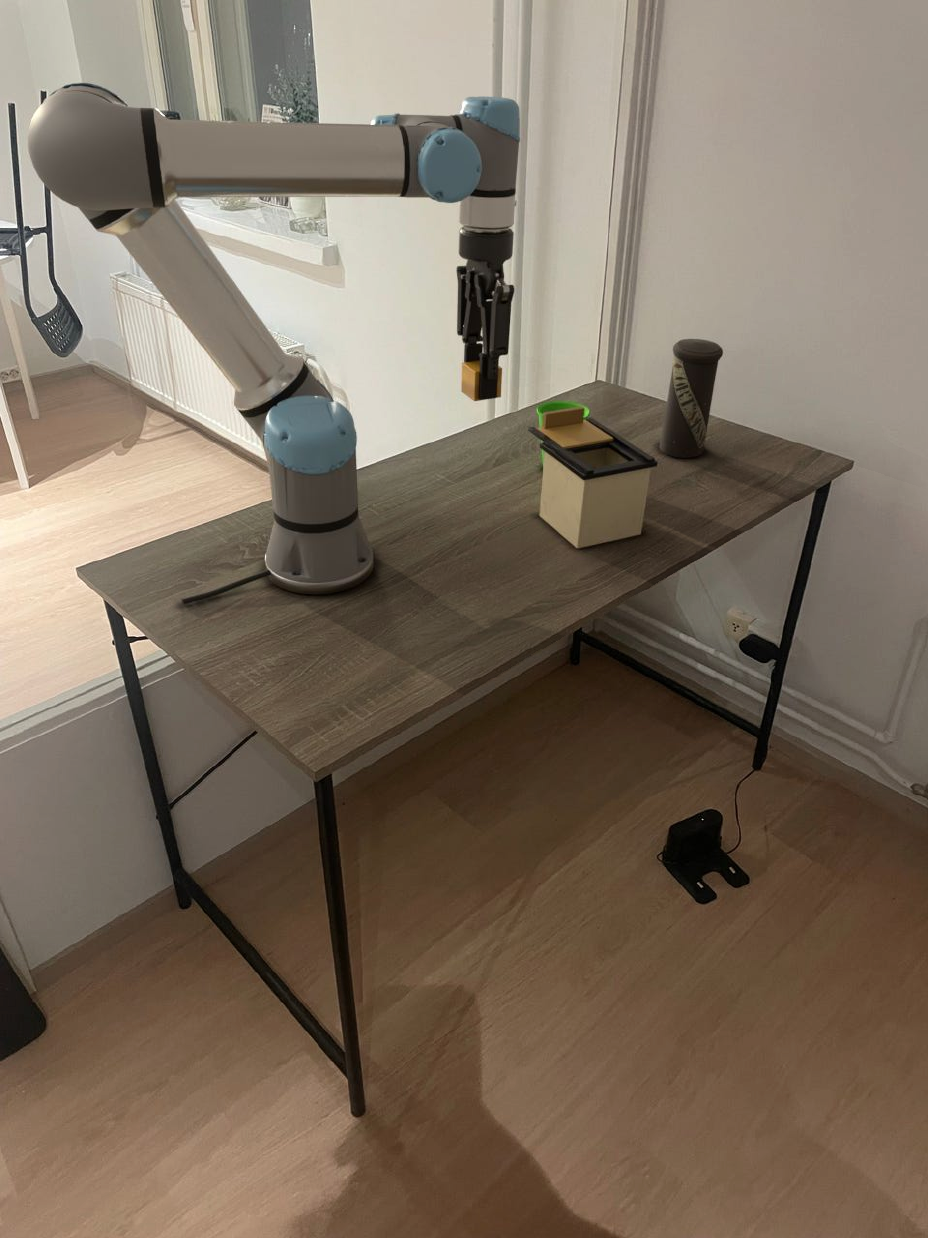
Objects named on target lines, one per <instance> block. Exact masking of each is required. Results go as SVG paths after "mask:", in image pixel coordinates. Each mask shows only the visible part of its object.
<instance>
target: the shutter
mask: <svg viewBox="0 0 928 1238" xmlns="http://www.w3.org/2000/svg"><path fill="white" fill-rule="evenodd" d="M583 418H584V408H583V407H582V406H580V407H574V408H568V409H561V410H555V411H549V412H543V423H542V427H540V426H538V427H536V428H537V429H538V430H539V431H541V432H542V433H544V434H545V435H546V436H548V437H549V438H550V439H552V440H553V441H555V442H556V443H557V444H559V445H560V446H561V447H563V448H564V449H568V448H573V447H579V446H585V445H590V444H596V443H602V442H608V441H613V438H612V437H611V436H609V435H608V434H606V433H604V432H603V431H601V430H600V429H598V428H597V427H595V426H594V425H592V424H591V423H589V422H588V421H586V420H583Z"/></svg>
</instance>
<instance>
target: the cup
mask: <svg viewBox="0 0 928 1238" xmlns="http://www.w3.org/2000/svg"><path fill="white" fill-rule="evenodd" d="M580 406H582V407H583V408H584V418H583V420H586V418H589V417H590V414H591V412H590V410H589V408H588V407H587V406H585V405H583V404H581V403H577V402H574V401H568V400H552V401H546V402H544V403H541V404H539V405H538V406H537V408H536V413H537V414H538V422H539V427H542V423H543V412H549V411H555V410H561V409H568V408H574V407H580ZM542 442H543V441H542V440H540V443H542ZM544 455H545V451H544V450H543V449H541V457H542V458H541V459H542V467H544Z"/></svg>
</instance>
